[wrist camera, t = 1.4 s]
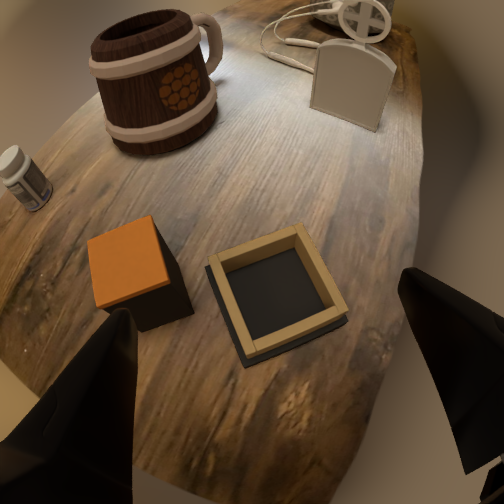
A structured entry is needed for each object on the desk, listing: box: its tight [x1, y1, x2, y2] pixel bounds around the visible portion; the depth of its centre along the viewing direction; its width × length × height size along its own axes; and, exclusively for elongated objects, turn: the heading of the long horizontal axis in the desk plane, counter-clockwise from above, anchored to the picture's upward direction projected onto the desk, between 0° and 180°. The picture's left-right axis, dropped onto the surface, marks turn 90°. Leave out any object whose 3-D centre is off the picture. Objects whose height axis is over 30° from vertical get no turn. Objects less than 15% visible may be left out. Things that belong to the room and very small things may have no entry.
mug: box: [89, 9, 223, 155], centre depth 30 cm, size 20×15×15 cm
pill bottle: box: [0, 145, 52, 211], centre depth 27 cm, size 5×5×8 cm
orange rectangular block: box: [87, 215, 194, 332], centre depth 21 cm, size 5×5×8 cm
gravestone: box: [310, 0, 397, 132], centre depth 27 cm, size 3×9×18 cm, turn 61°
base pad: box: [205, 222, 349, 368], centre depth 23 cm, size 9×9×4 cm
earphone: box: [260, 0, 358, 73], centre depth 40 cm, size 14×17×18 cm
